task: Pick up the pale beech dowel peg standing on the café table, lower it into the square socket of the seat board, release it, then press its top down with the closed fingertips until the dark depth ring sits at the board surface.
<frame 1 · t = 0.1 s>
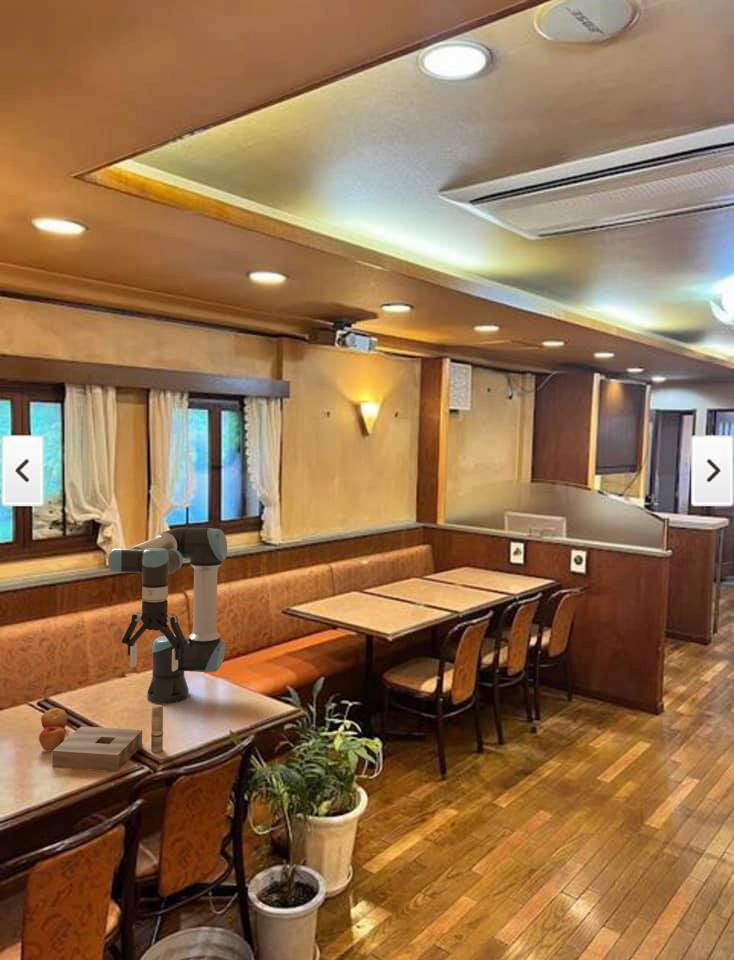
hand: (154, 668, 215), 28 cm above the table, fingers open, 13 cm apart
board: (98, 755, 216), on the table
fruit: (54, 730, 233), on the table
peg: (156, 750, 220), on the table
apple: (52, 750, 219), on the table
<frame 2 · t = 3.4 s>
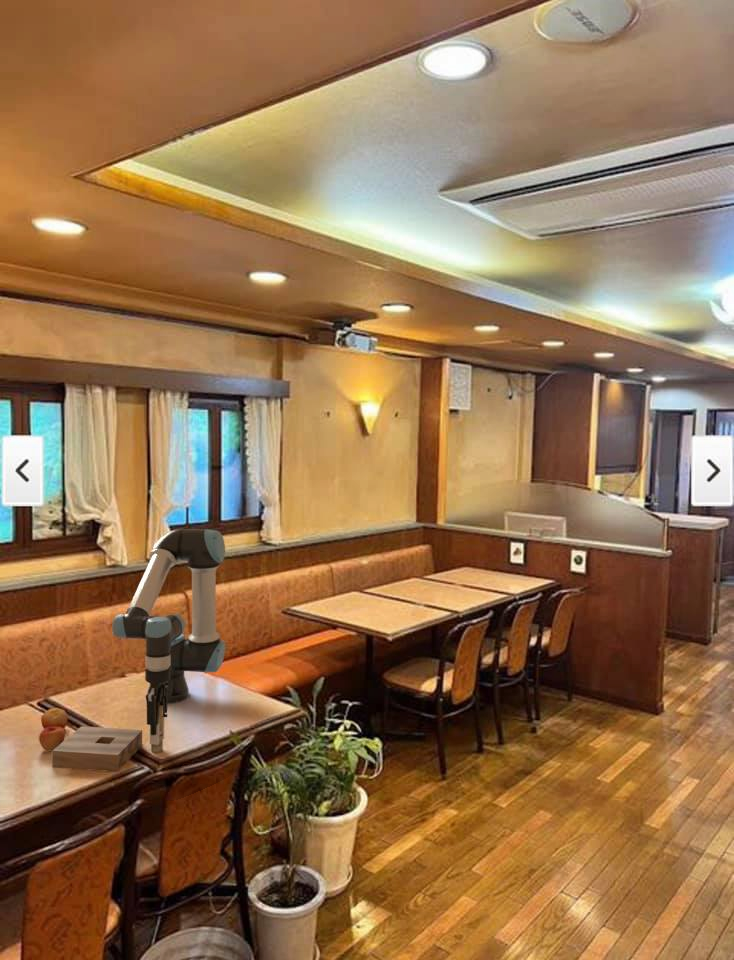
hand: (157, 740, 220), 3 cm above the table, fingers closed on peg, 3 cm apart
peg: (156, 750, 220), on the table, touching gripper
everything else where it was.
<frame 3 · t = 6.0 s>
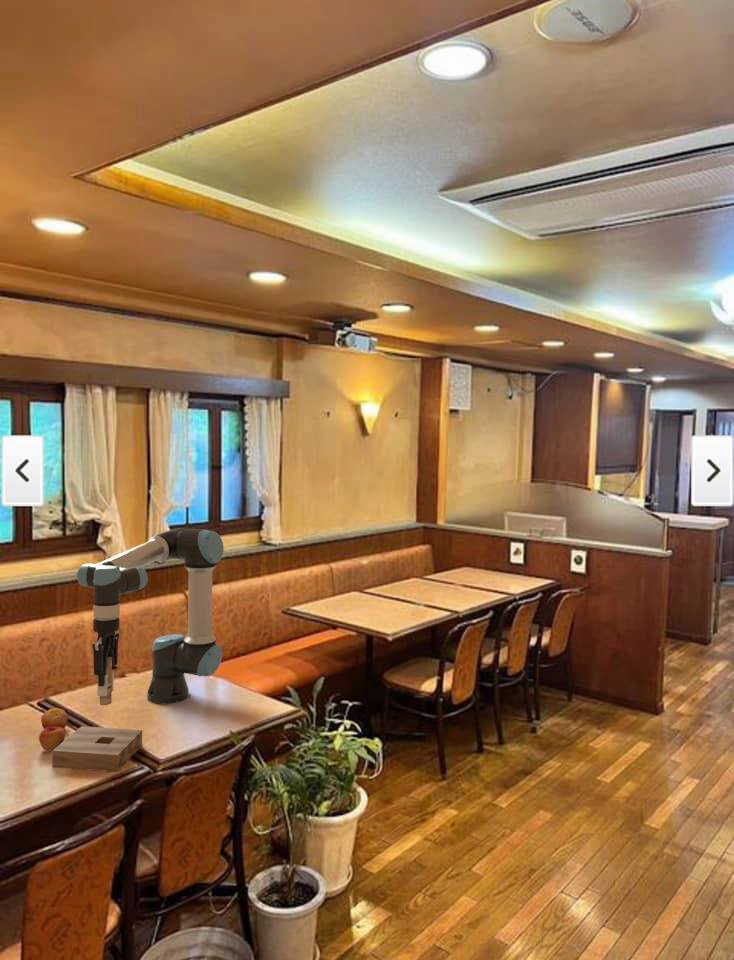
hand: (105, 693, 214), 20 cm above the table, fingers closed on peg, 3 cm apart
peg: (105, 703, 214), point 17 cm above the table, touching gripper
everything else where it was.
when the fingers open (6 cm above the table, at t = 8.6 s): peg drops 3 cm, resting in board.
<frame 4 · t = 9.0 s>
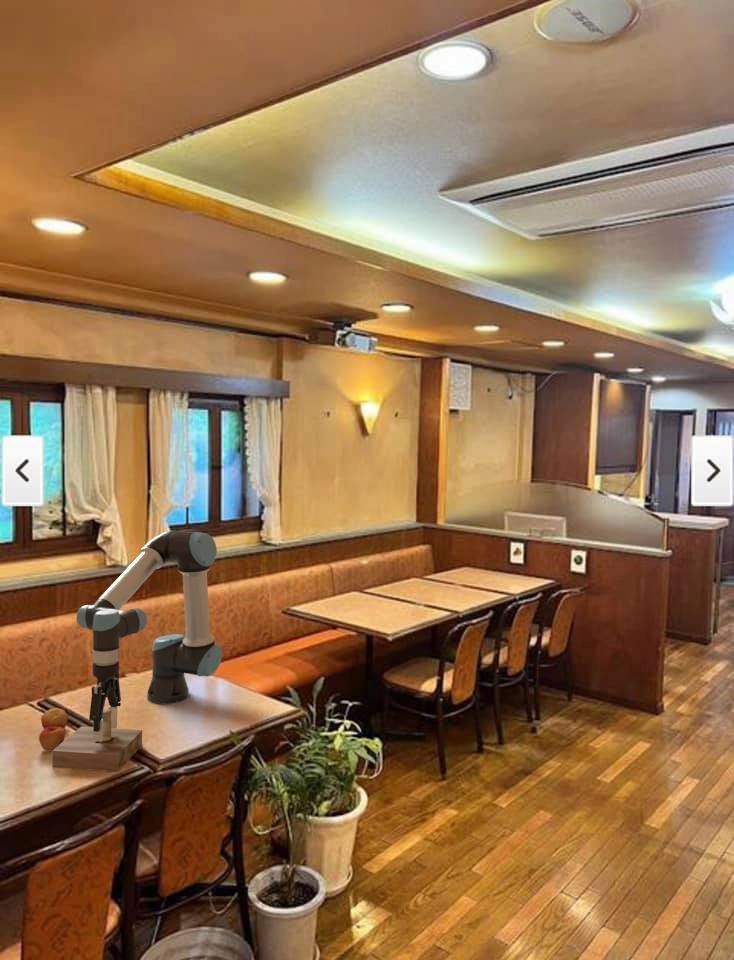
hand: (105, 733, 215), 7 cm above the table, fingers open, 9 cm apart
peg: (105, 756, 216), resting in board
everything else where it was.
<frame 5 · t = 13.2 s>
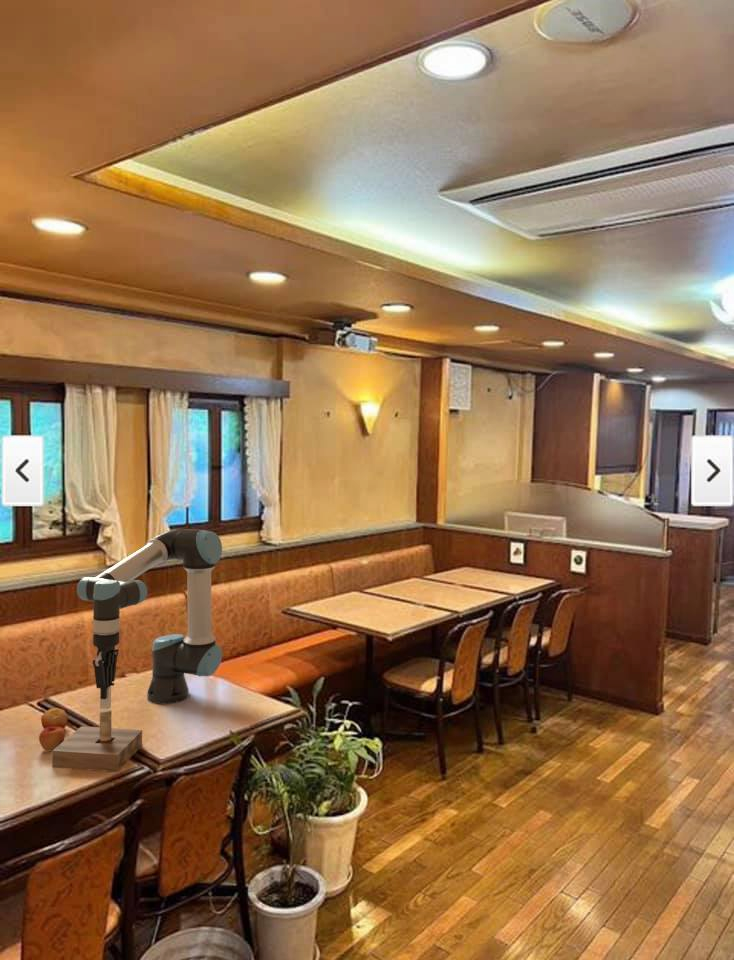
hand: (105, 707, 215), 15 cm above the table, fingers closed
nothing on the table moved.
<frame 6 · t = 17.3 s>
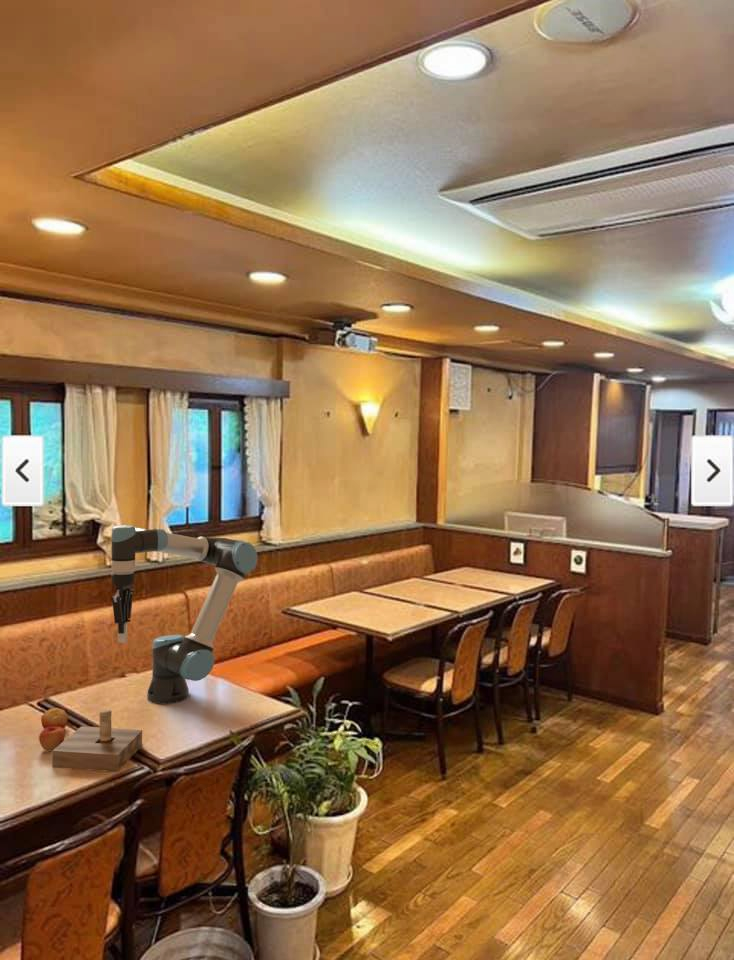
hand: (122, 642, 235), 29 cm above the table, fingers closed
nothing on the table moved.
at the end: peg 0.0 cm from the target spot on the board, point 0.0 cm above the board's base; peg tilted 0°; the gripper is holding nothing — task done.
